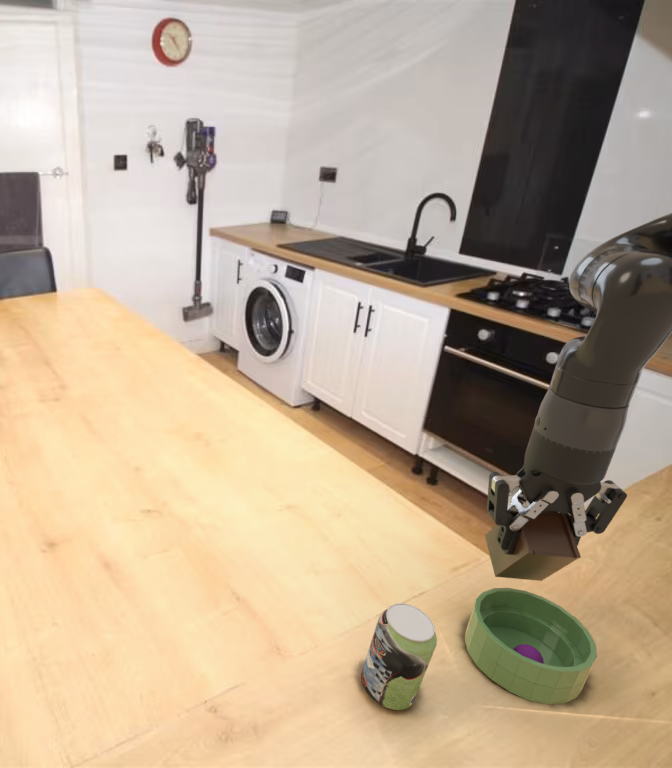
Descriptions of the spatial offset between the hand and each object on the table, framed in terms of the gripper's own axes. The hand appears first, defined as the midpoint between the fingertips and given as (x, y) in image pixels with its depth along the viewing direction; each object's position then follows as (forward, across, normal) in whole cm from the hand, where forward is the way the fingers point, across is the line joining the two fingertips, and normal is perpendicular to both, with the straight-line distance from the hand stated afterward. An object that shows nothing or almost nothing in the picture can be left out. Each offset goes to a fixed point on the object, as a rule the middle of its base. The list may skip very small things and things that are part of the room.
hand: (532, 552), depth 66 cm
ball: (+11, 0, -6) cm, 13 cm away
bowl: (+13, 0, -4) cm, 14 cm away
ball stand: (+4, 0, +3) cm, 5 cm away
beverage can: (+14, -17, -12) cm, 25 cm away
